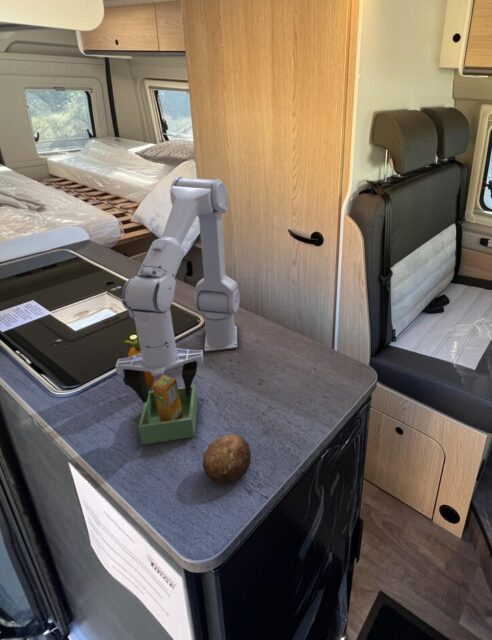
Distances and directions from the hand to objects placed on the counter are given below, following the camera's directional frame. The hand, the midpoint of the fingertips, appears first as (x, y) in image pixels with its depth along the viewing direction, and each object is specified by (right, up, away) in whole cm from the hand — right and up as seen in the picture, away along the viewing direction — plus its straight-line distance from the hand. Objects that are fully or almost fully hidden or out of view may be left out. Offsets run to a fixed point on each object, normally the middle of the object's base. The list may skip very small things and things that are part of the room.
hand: (167, 395), depth 74 cm
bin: (0, -6, +3) cm, 7 cm away
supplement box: (0, -6, +3) cm, 6 cm away
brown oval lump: (+13, -11, -6) cm, 18 cm away
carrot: (-9, -3, +10) cm, 14 cm away
